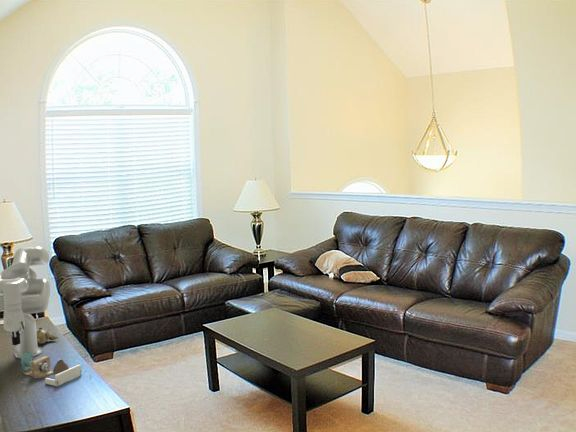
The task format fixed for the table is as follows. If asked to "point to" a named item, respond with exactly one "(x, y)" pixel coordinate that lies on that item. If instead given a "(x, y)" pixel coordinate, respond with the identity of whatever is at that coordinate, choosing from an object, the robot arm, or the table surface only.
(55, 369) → the vase
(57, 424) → the table surface
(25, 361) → the mallet
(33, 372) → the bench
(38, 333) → the ceramic sculpture
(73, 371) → the cradle
